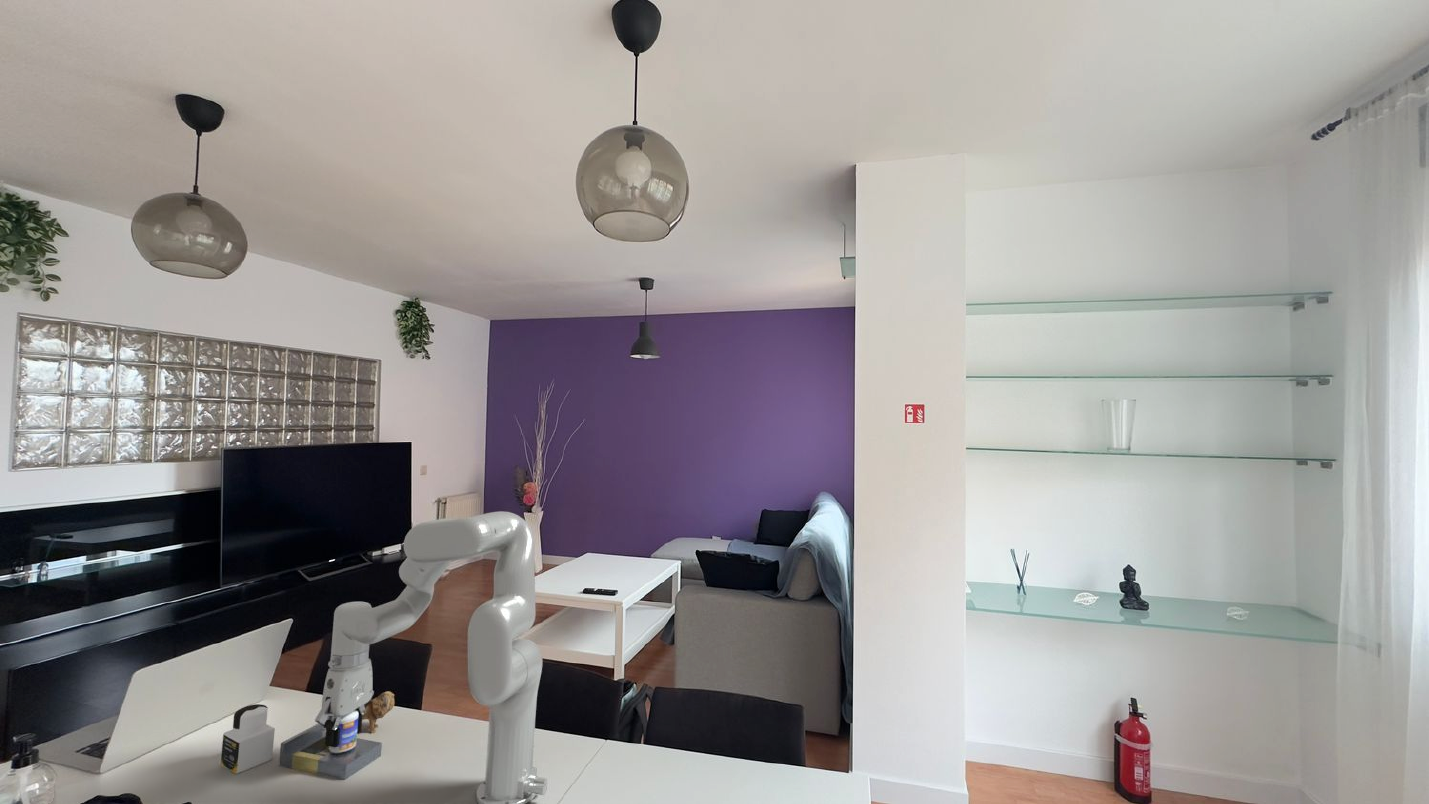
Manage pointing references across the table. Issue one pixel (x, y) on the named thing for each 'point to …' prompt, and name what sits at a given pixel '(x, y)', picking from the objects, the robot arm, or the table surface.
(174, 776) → the table surface
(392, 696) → the lion figurine
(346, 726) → the pill bottle
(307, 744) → the grey and tan frame
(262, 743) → the medicine bottle
